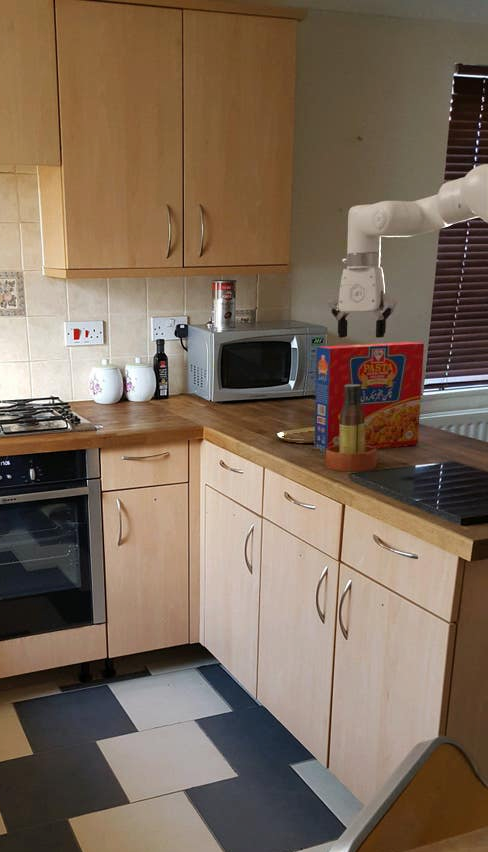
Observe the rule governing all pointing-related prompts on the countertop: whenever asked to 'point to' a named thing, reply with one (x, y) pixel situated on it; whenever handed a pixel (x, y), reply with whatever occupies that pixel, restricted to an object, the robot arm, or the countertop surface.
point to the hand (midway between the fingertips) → (361, 337)
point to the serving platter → (296, 432)
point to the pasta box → (370, 391)
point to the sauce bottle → (352, 421)
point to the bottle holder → (350, 459)
